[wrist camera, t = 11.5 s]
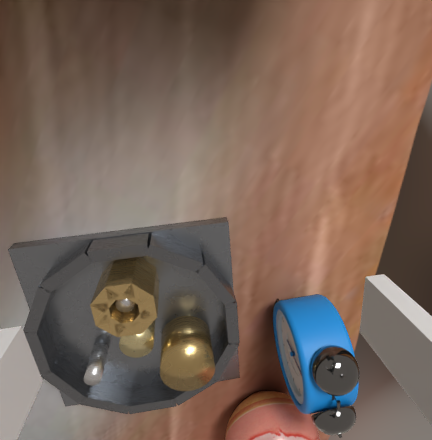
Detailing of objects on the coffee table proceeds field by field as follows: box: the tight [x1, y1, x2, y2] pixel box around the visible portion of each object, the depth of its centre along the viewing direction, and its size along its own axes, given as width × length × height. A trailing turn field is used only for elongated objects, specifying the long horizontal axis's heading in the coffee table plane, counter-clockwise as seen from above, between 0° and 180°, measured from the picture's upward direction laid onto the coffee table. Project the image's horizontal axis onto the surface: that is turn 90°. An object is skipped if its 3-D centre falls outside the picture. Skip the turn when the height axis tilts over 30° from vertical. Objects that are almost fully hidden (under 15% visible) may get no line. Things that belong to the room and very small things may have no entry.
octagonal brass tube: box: [90, 257, 159, 337], centre depth 37 cm, size 6×6×6 cm
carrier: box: [8, 217, 240, 414], centre depth 41 cm, size 25×25×8 cm
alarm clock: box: [273, 294, 359, 438], centre depth 40 cm, size 13×6×15 cm, turn 6°
